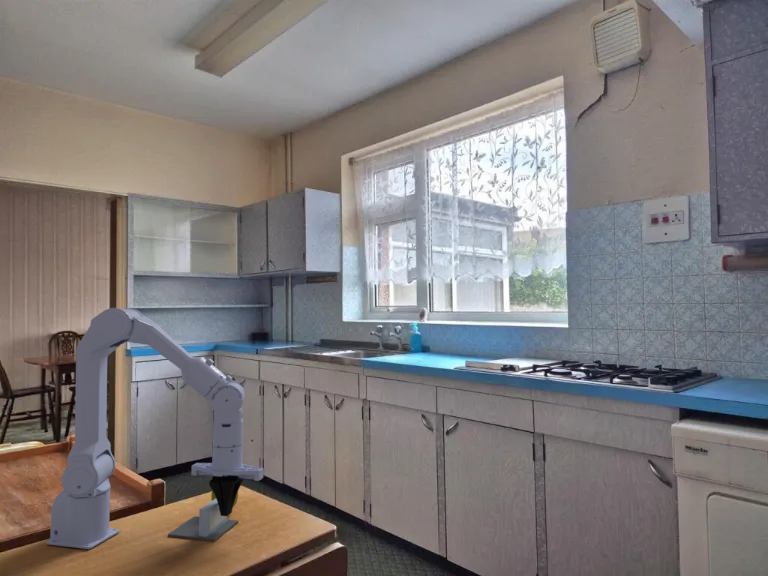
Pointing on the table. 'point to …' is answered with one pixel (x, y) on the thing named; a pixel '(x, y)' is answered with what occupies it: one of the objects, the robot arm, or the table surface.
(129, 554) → the table surface
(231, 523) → the mat
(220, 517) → the plaque
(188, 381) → the robot arm
